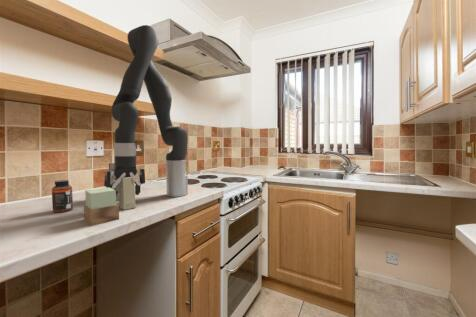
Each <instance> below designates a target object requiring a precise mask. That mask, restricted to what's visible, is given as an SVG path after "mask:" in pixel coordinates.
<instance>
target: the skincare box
mask: <svg viewBox="0 0 476 317" xmlns="http://www.w3.org/2000/svg"><path fill="white" fill-rule="evenodd" d="M135 185H136V184H135V183H134V177H124V178H122V180H121V181H120V183H119V184H118V193H119V200H118V205H119V209H122V210H125V211H126V210H130V209H135V208H136V194H135Z"/></svg>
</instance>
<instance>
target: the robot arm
mask: <svg viewBox="0 0 476 317" xmlns="http://www.w3.org/2000/svg"><path fill="white" fill-rule="evenodd" d="M126 38H127V43H128V46H129V48H130V51H131V53H132V55H133V59H132V60H131V62H130V64H129V65H128V66H127V69H126V70H125V73H124V75H123V77H122V81H121V84H120V88H119V91H118V93H117V95H116V97H115V98H114V101H113V103H112V106H111V110H110V113H111V116H112V118H113V119H114V120H115V121H117V122H119V123H118V127H117V128H116V129H115V130H114V148H113V151H114V152H113V154H114V155H113V156H114V160H113V161H114V167H115V169H114V171H109V170H105V172H104V180H103V181H104V185H103V186H104V188H108V187H109V188H112V189H114V190H116V189H115V187H116V186H117V185H118V184H119V183H120V181H121V180H122V178H124V177H134V184H135V196H138V195H140V193H141V185H143V184H144V185H145V183H146V174H145V172H146V170H145V168H139V169H137V148H136V147H137V146H136V130H137V126H138V121H139V110H138V108H137V106H136V105H135V101H137V100H138V99H139V98H140V95H141V92H142V87H143V83H144V85H145V87H146V92H147V93H148V97H149V99H150V101H151V104H152V107H153V111H154V113H155V116H156V121H157V124H158V126H159V131H160V135H161V136H160V137H161V139H162V141H163V143H164V144H165V145H166V146H170V147H172V149H171V151H170V152H168V153H167V154H165V166H166V167H165V171H166V172H165V174H166V175H165V176H166V177H165V179H166V182H165V183H166V197H170V198H171V197H172V198H174V197H175V198H177V197H179V198H180V197H183V196H185V195H188V194H189V190H188V189H189V187H188V185H189V183H188V180H189V179H188V178H189V177H188V175H187V168H186V167H187V166H186V165H187V164H186V163H187V161H186V159H187V158H186V157H187V153H188V136H189V135H188V132H187V129H186V128H184V127H182V126H174V125H173V122H172V120H171V108H172V103H173V99H172V98H173V97H172V94H171V91H170V87H169V85H168V82H167V81H166V79H165V78H164V76H163V75H162V74H161V73H160V71H159V70H158V69H157V68H156V66H155V64H154V63H153V60H152V59H153V57H154V55H155V52H156V51H157V49H158V46H159V35H158V33H157V32H156V30H155V29H154V28H153V26H150V25H147V24H145V25H144V24H142V25H139V26H138V27H134V28H133V29H131V30H129V31H128V33H127V37H126ZM113 174H114V175H115V176H116V178H115V179H114V180H113V182H112V184H111V185H110V177H112V175H113ZM137 174H138V176H139V179H138V178H137V176H136V175H137Z"/></svg>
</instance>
